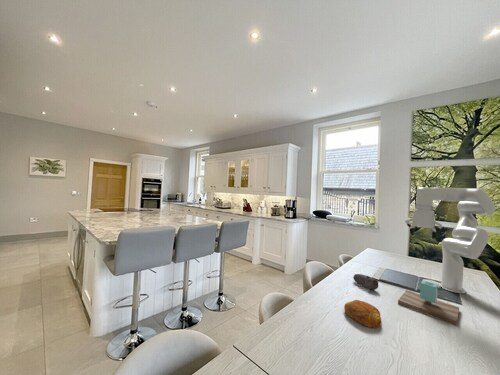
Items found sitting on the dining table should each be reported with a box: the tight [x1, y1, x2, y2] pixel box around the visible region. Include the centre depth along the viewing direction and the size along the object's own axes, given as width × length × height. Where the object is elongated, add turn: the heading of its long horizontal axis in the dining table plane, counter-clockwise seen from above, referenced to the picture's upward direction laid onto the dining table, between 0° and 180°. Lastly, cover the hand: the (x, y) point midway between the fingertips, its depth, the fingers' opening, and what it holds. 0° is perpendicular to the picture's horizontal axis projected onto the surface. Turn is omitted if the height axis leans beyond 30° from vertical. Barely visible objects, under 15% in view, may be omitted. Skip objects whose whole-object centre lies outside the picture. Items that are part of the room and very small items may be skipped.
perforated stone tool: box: [353, 273, 379, 291], centre depth 130 cm, size 15×5×7 cm, turn 27°
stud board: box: [397, 289, 460, 326], centre depth 109 cm, size 18×22×11 cm
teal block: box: [419, 279, 439, 303], centre depth 109 cm, size 6×6×8 cm
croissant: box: [343, 299, 383, 329], centre depth 97 cm, size 14×16×8 cm
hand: (422, 236), depth 125 cm, fingers open, 9 cm apart
